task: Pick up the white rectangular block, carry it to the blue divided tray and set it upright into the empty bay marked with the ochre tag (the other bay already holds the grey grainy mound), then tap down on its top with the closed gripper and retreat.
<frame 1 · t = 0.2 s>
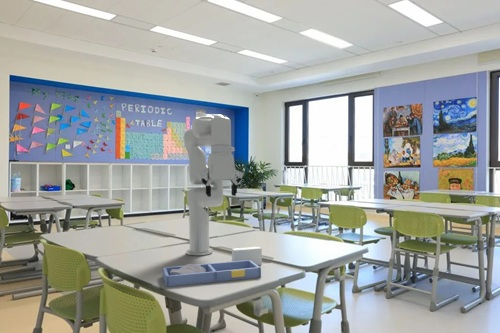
hand: (221, 195, 145), 31 cm above the table, tool pointing down, fingers open, 9 cm apart
blue divided tray: (211, 276, 146), on the table
white rectangular block: (246, 264, 164), on the table
grey grainy mound: (189, 279, 143), touching blue divided tray
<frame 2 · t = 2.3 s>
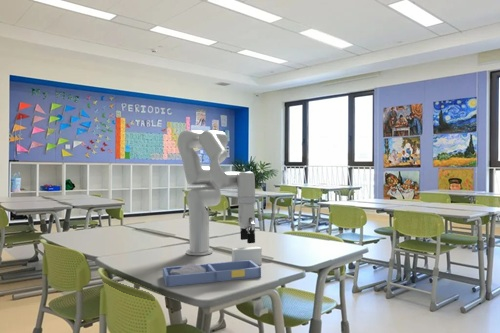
hand: (247, 241, 164), 10 cm above the table, tool pointing down, fingers open, 9 cm apart
nothing on the table moved.
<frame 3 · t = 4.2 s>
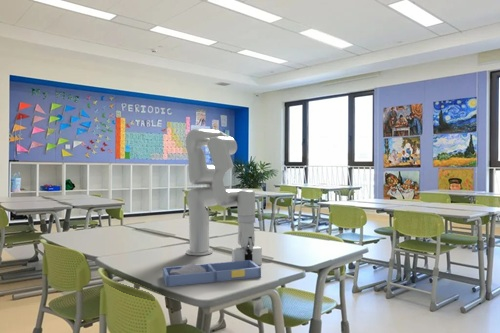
hand: (246, 261, 164), 1 cm above the table, tool pointing down, fingers closed on white rectangular block, 4 cm apart
white rectangular block: (246, 264, 164), on the table, touching gripper
everything else where it was.
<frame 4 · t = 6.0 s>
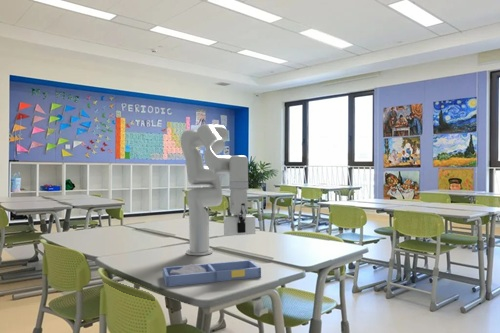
hand: (239, 231, 155), 16 cm above the table, tool pointing down, fingers closed on white rectangular block, 4 cm apart
white rectangular block: (239, 234, 155), point 14 cm above the table, touching gripper
everything else where it was.
when the fingers open (2 cm above the table, at t = 9.5 s): white rectangular block drops 1 cm, resting in blue divided tray.
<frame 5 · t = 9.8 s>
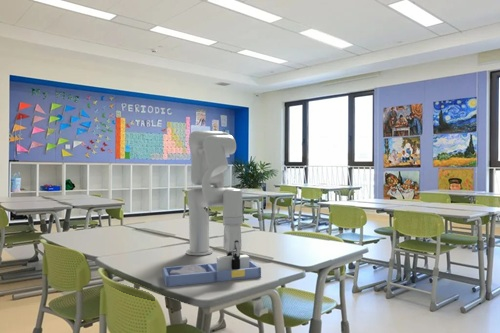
hand: (233, 266, 149), 3 cm above the table, tool pointing down, fingers open, 6 cm apart
white rectangular block: (233, 274, 149), resting in blue divided tray
grey grainy mound: (189, 279, 143), on the table, touching blue divided tray
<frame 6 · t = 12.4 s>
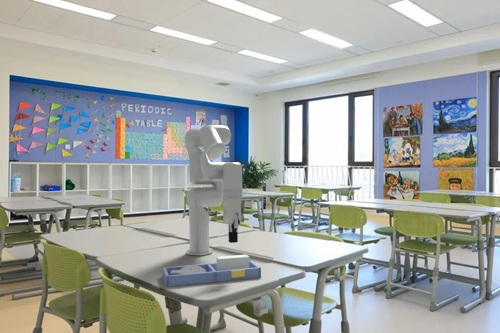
hand: (233, 242, 149), 13 cm above the table, tool pointing down, fingers closed
nothing on the table moved.
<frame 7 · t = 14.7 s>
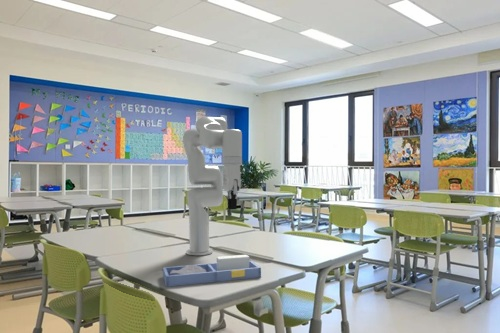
hand: (232, 208, 149), 25 cm above the table, tool pointing down, fingers closed
nothing on the table moved.
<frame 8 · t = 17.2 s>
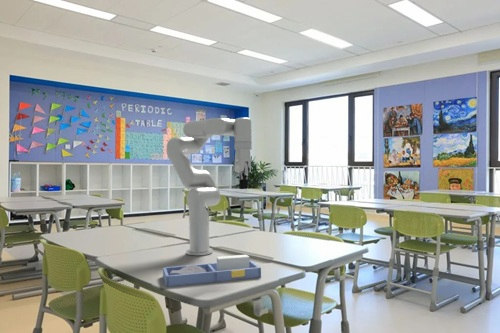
hand: (243, 188, 168), 32 cm above the table, tool pointing down, fingers closed
nothing on the table moved.
at the end: white rectangular block inside the target area (0.3 cm from its centre), resting in blue divided tray; white rectangular block tilted 0°; the gripper is holding nothing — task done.
